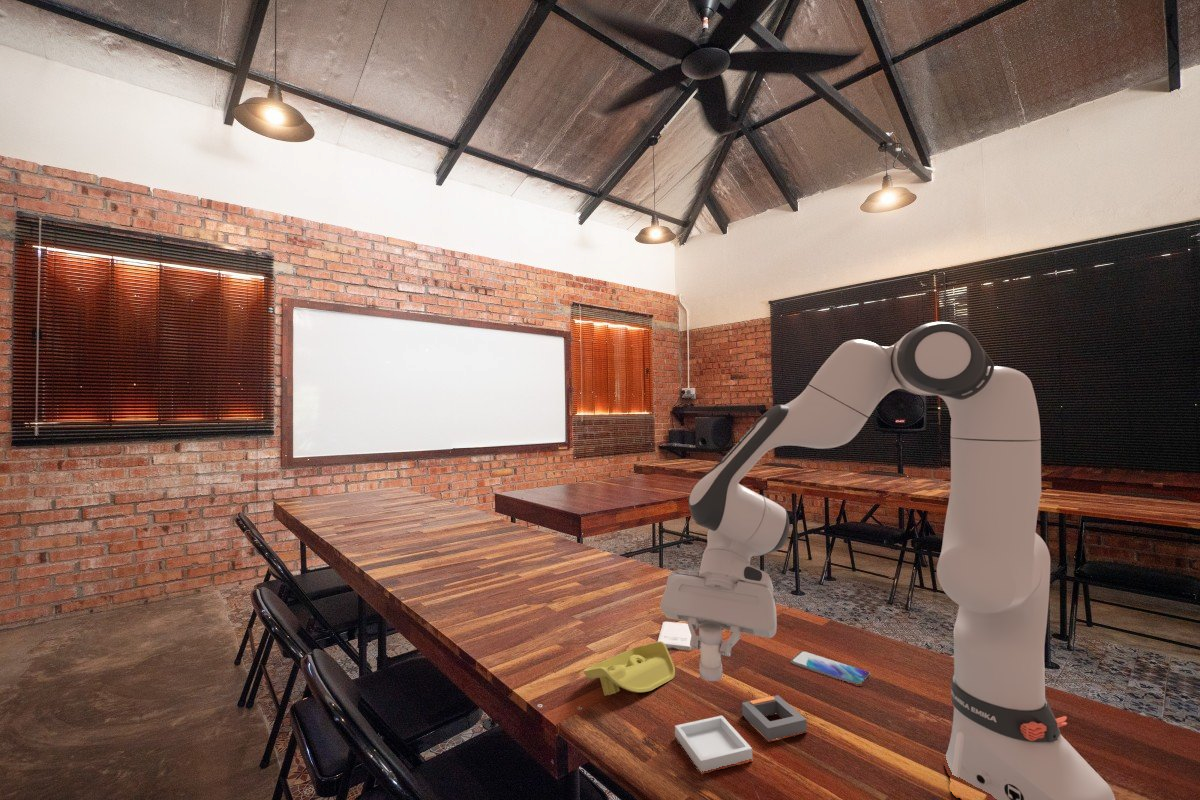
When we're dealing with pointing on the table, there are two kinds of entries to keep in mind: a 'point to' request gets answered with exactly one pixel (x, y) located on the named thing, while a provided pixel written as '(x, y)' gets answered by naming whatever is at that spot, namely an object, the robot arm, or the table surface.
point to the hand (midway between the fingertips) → (709, 651)
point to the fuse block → (777, 728)
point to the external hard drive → (675, 635)
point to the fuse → (710, 652)
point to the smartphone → (829, 667)
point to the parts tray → (712, 743)
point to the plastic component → (634, 669)
